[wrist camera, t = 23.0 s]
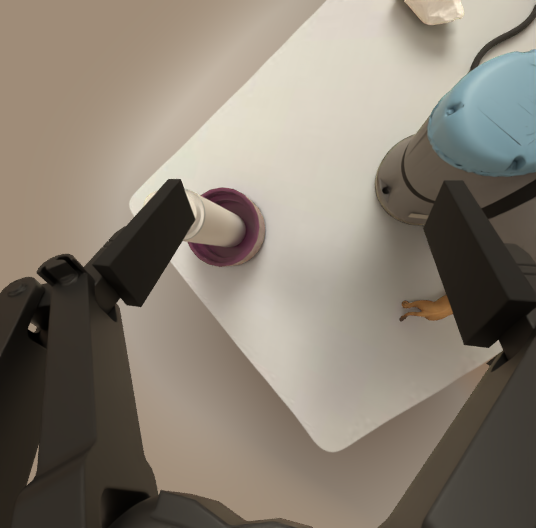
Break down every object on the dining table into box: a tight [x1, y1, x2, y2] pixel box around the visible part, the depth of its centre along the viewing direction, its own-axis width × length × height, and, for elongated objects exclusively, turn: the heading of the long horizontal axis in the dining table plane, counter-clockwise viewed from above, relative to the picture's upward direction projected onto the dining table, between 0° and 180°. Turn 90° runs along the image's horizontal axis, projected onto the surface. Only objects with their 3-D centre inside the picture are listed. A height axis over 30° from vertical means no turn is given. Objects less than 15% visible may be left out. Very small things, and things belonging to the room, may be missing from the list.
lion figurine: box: [399, 295, 453, 321], centre depth 40 cm, size 15×5×9 cm, turn 125°
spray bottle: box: [143, 189, 246, 247], centre depth 39 cm, size 7×7×25 cm
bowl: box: [188, 188, 265, 267], centre depth 49 cm, size 14×14×6 cm
